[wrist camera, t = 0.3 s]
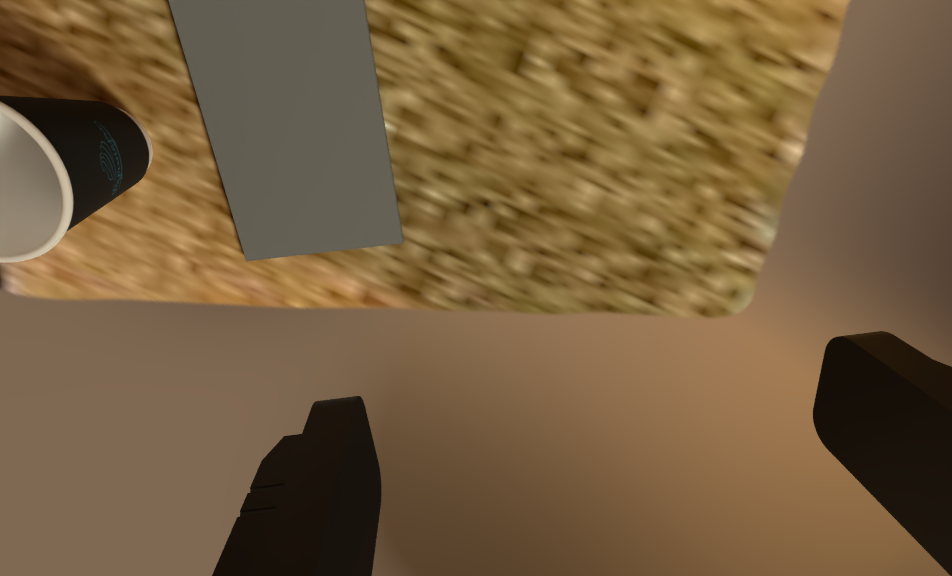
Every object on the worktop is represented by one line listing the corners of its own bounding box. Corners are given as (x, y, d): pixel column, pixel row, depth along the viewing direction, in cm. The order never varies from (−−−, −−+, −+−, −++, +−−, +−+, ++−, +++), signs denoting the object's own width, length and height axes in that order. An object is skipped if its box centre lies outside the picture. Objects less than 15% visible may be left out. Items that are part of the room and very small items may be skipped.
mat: (136, -123, 28) (130, -127, 28) (340, -144, 28) (338, -148, 28) (249, 258, 37) (246, 261, 37) (403, 240, 37) (403, 243, 37)
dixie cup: (205, 160, 34) (107, 203, 24) (118, 227, 36) (-8, 293, 26) (107, 49, 31) (-50, 46, 21) (17, 126, 33) (-170, 157, 23)
